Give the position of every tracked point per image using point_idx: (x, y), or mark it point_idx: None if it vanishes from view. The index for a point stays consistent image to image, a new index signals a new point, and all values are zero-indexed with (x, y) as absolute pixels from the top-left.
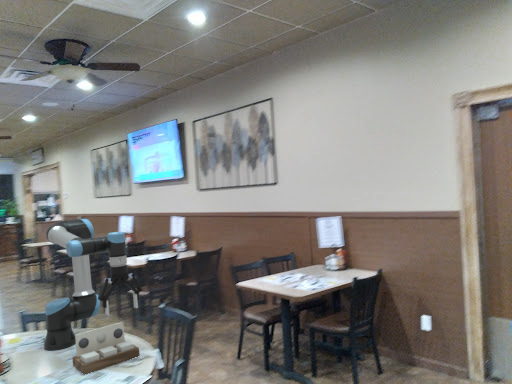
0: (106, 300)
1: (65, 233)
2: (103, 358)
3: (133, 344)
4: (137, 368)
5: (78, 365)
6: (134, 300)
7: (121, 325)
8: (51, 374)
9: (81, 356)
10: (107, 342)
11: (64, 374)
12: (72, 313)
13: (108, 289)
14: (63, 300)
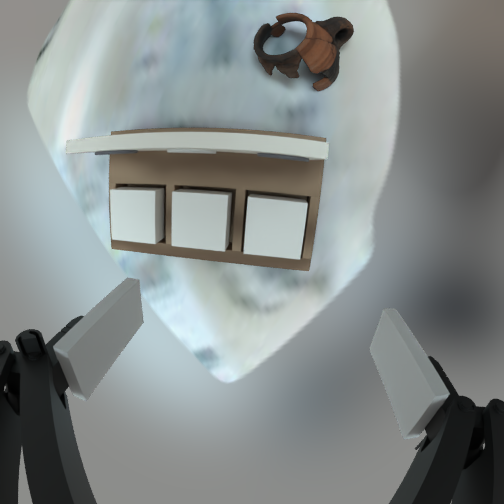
0: (71, 380)
1: None
2: (172, 249)
3: (297, 258)
4: (247, 331)
5: None
6: (399, 367)
7: (310, 157)
8: None
9: (111, 200)
10: (227, 151)
11: (94, 183)
12: None
13: (33, 470)
14: None
